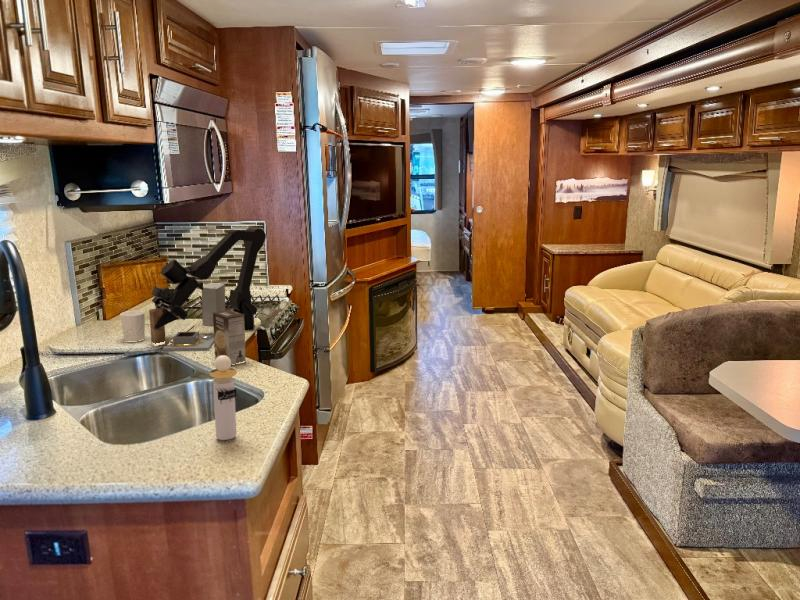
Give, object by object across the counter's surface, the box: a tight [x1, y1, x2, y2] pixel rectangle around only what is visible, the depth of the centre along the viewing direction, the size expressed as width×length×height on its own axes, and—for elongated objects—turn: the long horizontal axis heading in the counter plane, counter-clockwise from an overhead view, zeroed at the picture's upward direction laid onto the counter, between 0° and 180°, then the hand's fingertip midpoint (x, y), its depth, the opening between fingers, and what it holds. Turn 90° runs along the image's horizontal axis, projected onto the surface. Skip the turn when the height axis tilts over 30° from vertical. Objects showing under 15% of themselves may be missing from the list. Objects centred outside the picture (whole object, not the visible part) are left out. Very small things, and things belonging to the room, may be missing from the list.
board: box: [162, 333, 214, 352], centre depth 209 cm, size 15×18×1 cm
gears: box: [169, 331, 214, 348], centre depth 208 cm, size 14×16×3 cm
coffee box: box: [212, 309, 247, 365], centre depth 189 cm, size 9×6×16 cm
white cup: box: [119, 310, 146, 342], centre depth 211 cm, size 8×8×10 cm
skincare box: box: [201, 282, 226, 327], centre depth 234 cm, size 8×7×16 cm
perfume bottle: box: [209, 355, 238, 441], centre depth 134 cm, size 6×6×20 cm
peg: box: [148, 308, 167, 344], centre depth 206 cm, size 4×4×12 cm
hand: (153, 327), depth 205 cm, fingers closed on peg, 4 cm apart
